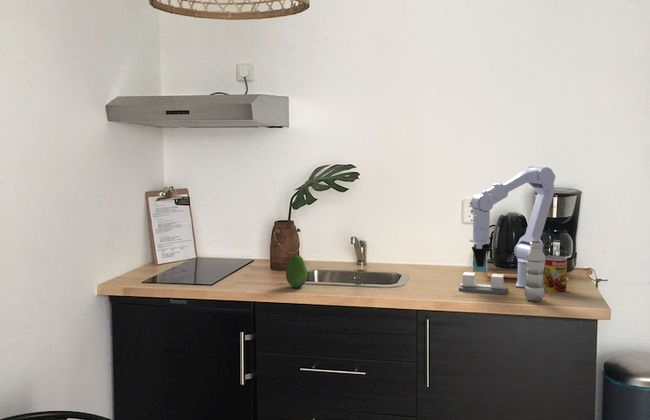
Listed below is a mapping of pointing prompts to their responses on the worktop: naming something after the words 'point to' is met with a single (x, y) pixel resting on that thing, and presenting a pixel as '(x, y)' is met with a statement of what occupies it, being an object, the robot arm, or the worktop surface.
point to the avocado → (296, 272)
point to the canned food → (555, 274)
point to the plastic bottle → (535, 272)
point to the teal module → (479, 269)
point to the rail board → (471, 286)
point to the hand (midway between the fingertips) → (480, 265)
